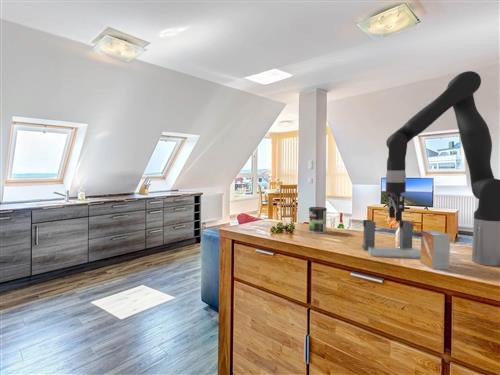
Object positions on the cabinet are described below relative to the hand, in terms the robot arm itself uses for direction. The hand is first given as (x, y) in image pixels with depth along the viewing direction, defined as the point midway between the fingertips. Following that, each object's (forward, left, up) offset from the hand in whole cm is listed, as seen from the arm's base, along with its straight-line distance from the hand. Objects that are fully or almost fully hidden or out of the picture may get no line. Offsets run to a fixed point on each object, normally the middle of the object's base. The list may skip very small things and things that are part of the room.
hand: (395, 219), depth 125 cm
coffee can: (+29, -46, -16) cm, 56 cm away
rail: (0, 0, -16) cm, 16 cm away
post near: (-8, -10, -16) cm, 20 cm away
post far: (+8, -10, -16) cm, 20 cm away
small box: (-11, +11, -16) cm, 23 cm away
